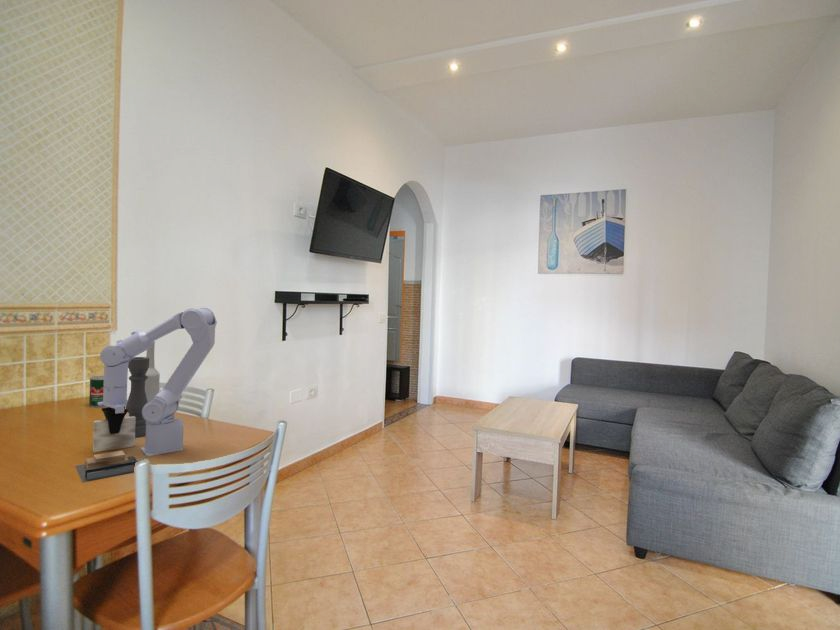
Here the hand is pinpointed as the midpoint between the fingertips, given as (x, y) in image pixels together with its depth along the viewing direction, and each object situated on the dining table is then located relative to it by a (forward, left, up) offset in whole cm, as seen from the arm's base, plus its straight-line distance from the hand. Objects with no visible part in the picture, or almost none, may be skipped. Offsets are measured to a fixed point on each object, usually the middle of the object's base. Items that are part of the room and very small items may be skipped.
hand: (113, 432), depth 131 cm
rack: (+3, +17, -5) cm, 18 cm away
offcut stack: (+3, +13, -5) cm, 14 cm away
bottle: (-16, -32, -5) cm, 36 cm away
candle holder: (-8, -11, -5) cm, 15 cm away
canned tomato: (-6, -60, -5) cm, 61 cm away
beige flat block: (0, 0, -5) cm, 5 cm away
